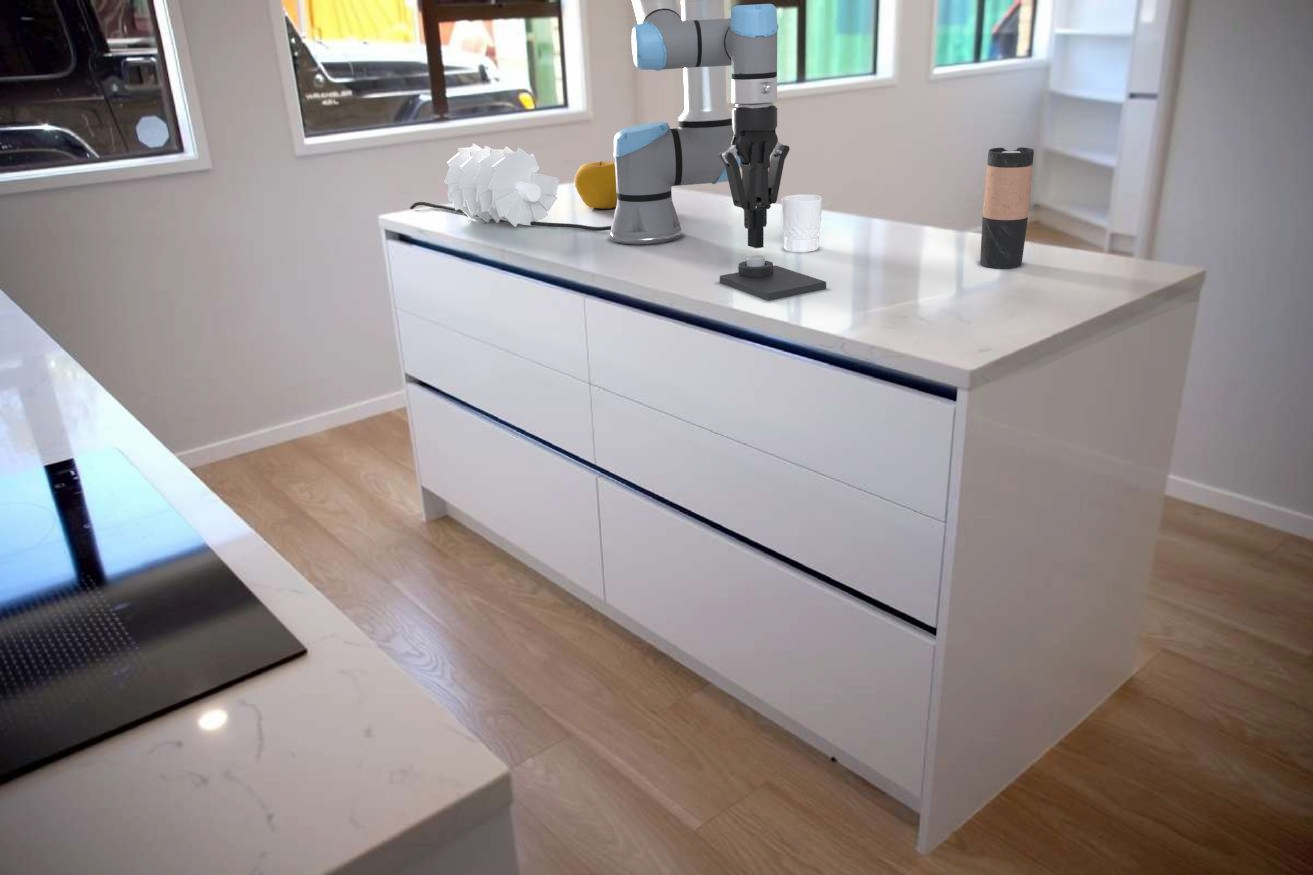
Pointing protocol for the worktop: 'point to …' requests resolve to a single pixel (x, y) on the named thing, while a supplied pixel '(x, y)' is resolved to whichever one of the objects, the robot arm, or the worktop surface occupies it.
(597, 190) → the apple
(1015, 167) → the travel mug
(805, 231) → the white cup
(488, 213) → the spiral staircase
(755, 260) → the button
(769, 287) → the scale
